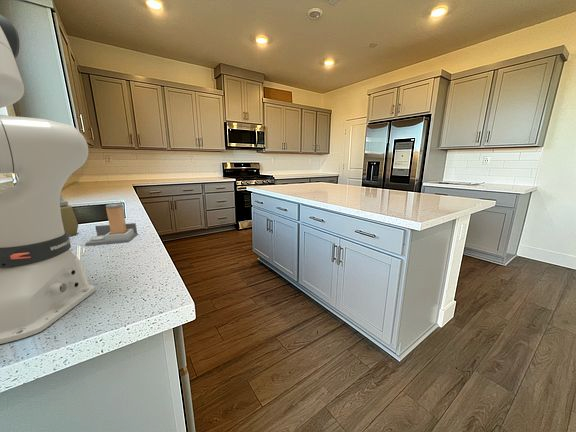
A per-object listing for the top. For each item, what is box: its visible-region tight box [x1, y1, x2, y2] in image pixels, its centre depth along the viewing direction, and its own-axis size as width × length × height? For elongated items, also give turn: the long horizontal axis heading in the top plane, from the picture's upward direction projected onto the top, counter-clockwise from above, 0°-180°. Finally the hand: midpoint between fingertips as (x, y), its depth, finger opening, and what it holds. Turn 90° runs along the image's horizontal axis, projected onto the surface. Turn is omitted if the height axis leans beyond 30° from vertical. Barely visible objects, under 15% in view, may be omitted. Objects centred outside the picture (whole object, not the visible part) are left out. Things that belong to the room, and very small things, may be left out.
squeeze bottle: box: [60, 193, 79, 237], centre depth 99 cm, size 8×8×18 cm
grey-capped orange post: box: [105, 202, 127, 234], centre depth 93 cm, size 5×5×13 cm
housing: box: [84, 222, 138, 247], centre depth 93 cm, size 10×14×5 cm
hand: (31, 149), depth 79 cm, fingers open, 8 cm apart
